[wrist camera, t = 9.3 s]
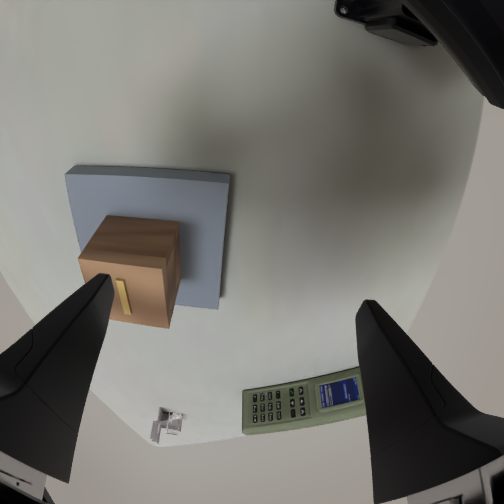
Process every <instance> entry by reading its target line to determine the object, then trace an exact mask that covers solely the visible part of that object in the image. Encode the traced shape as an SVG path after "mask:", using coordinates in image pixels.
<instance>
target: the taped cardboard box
mask: <svg viewBox="0 0 504 504" xmlns="http://www.w3.org/2000/svg"><path fill="white" fill-rule="evenodd" d="M78 261H79V265H80V268H81V271H82V274H83V278H84V281H85V283H87V282H88V281H89V280H90V279H92V278H93V277H94V276H96V275H97V274H98V273H105V274H109V275H110V276H111V279H112V283H113V287H114V291H115V295H114V300H113V304H112V308H111V313H110V317H109V319H111V320H116V321H122V322H128V323H134V324H140V325H147V326H154V327H161V328H168V329H169V326H170V322H171V318H172V314H173V310H174V305H175V301H176V297H177V293H178V289H179V286H180V282H181V269H180V239H179V221H171V220H160V219H148V218H137V217H125V216H112V215H106V217H105V218H104V220H103V221H102V223H101V224H100V225H99V227H98V228H97V230H96V231H95V233H94V234H93V236H92V237H91V239H90V240H89V242H88V243H87V245H86V246H85V248H84V249H83V251H82V253H81V254H80V256H79V257H78Z"/></svg>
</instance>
